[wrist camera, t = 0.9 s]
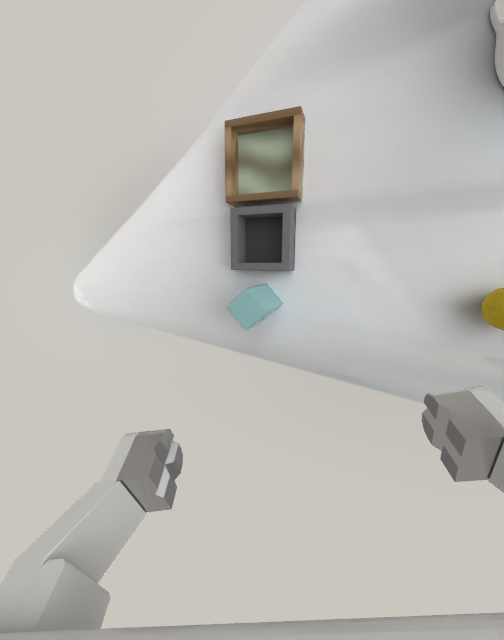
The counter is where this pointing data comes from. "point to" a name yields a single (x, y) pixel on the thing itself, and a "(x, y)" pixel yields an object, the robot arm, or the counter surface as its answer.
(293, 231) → the box
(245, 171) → the walled bay
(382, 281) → the counter surface
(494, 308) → the lemon
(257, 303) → the teal block
